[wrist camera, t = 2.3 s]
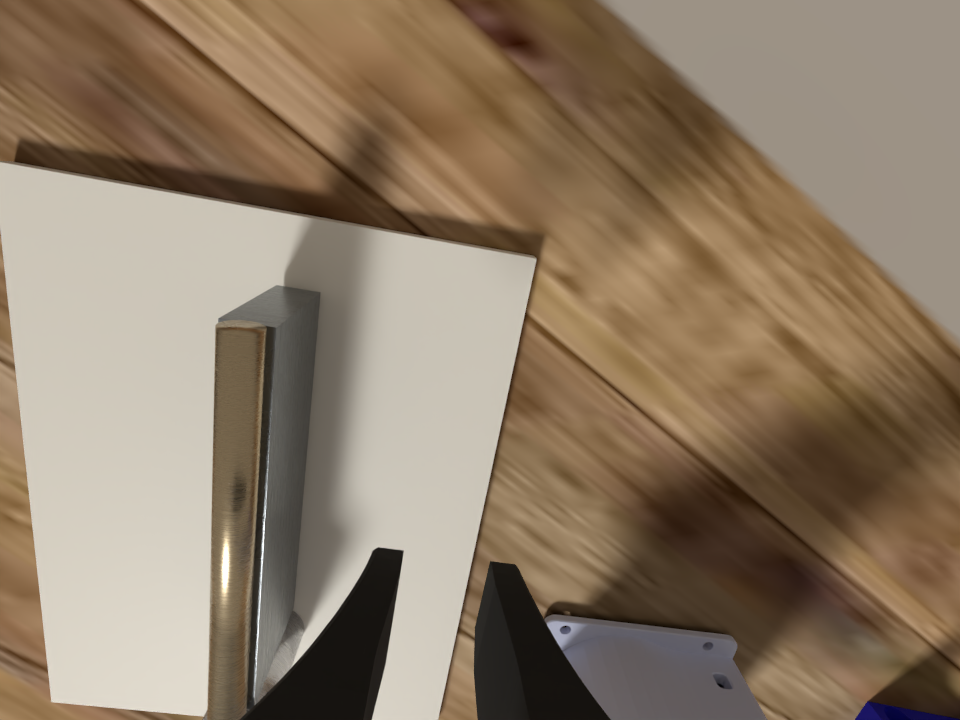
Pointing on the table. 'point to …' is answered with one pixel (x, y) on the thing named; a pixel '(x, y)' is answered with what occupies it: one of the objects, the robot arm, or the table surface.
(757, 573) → the table surface
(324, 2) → the table surface
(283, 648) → the gate post
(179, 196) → the gate board
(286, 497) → the gate
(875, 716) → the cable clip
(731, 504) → the table surface
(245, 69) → the table surface
